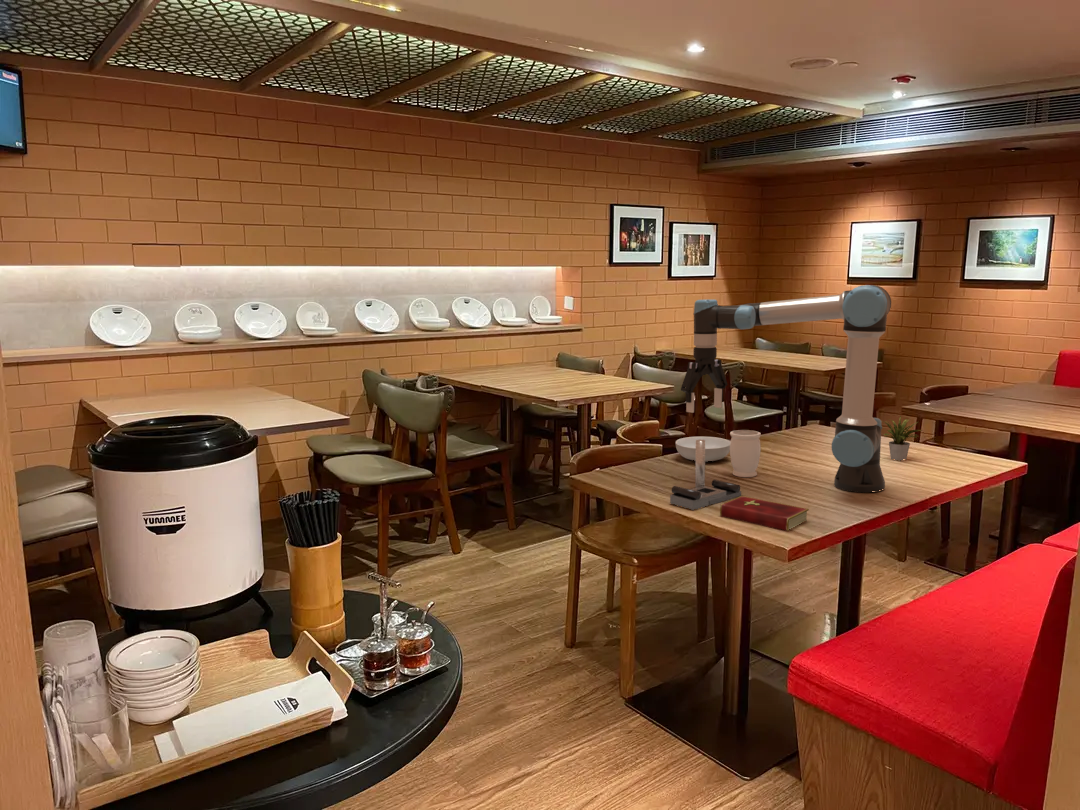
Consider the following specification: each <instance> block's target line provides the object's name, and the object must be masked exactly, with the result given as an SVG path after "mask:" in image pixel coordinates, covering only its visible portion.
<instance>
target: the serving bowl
mask: <svg viewBox="0 0 1080 810" xmlns="http://www.w3.org/2000/svg"><path fill="white" fill-rule="evenodd" d="M696 440H705V463H709V462H708V461H712V462H714V461H718V460H722V459H724V458H725V457H727V456H728V455H729V454H730V442H731V440H730V439H725V438H721V437H715V436H689V437H683V438H682V437H681V438H679V439H677V440H675V448H676V450H677V452H678V454H679V455H680V456H681V457H683V458H685V459H687V460H690V461H693V460H694V461H693V462H696Z"/></svg>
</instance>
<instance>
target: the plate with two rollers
mask: <svg viewBox="0 0 1080 810" xmlns="http://www.w3.org/2000/svg"><path fill="white" fill-rule="evenodd" d="M740 496H742V491H741V485H740V484H736V483H732V482H728V481H722V480H719V479H713V480H712V481H711V486H708V485H705V486H700V487H696V488H695V487H694V488H690V489H689V488H684V487H682V486H677V485H673V486H672V487H671V494H670V496H669V499H670V500H669V501H670V502H669V503H671V504H675V505H678V506H677V507H679V506H682V507H685V508H684V509H686V508H689V509H691V510H690V511H695V510H694V509H697V510H699V509H698V508H700V509H702V508H701V507H703V508H705V506H706V507H709V506H708V505H710V506H712V505H711V504H713V505H715V503H716V504H719V503H723V502H727V501H730V500H733V499H735V498H738V497H740ZM722 501H723V502H722ZM671 504H670V505H671ZM675 505H674V506H675ZM682 507H681V508H682ZM689 509H688V510H689Z"/></svg>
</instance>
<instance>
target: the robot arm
mask: <svg viewBox="0 0 1080 810" xmlns="http://www.w3.org/2000/svg"><path fill="white" fill-rule="evenodd" d="M693 305H694V307H693V346H694V347H693V356H692V357H693V359H694V360H695V362H691V361H688V363H687V369H686V373H685V374H684V378H683V381H682V384H681V387H680V391H681V392H683V393H685V404H686V406H685V407H686V410H685V412H686V413H692V414H693V413H695V392H694V390H695V388H696V386H697V384H698V382H700V379H701V378H702V377H703V376H706V375H708V376H709V377H710V379H711V381H712V382H713V384H714V386H715V387H714V392H713V393H714V394H713V395H714V396H713V399H714V400H713V407H714V408H717V409H722V407H723V394H724V393H723V391H724V390H723V389H726V387H727V386H728V381H727V378H726V375H725V372H724V368H723V367H722V365H723V364H722V359H717V357H718V356H717V353H718V351H717V350H718V348H717V347H716V346H717V345H718V329H719V330H721V329H723V330H724V329H726V330H728V329H729V330H750V329H753V328H754V327H756V326H767V325H768V326H769V325H780V324H791V323H802V322H803V323H804V322H815V321H826V320H839V319H841V320H843V332H844V333H845V334H846V335H847V349H846V357H845V358H846V359H845V370H844V371H845V373H844V385H843V395H842V396H843V397H842V408H841V415H840V416H838V417H837V418H836V420H835V426H834V427H835V428H834V429H835V431H834V437H833V439H832V441H831V452H832V455H833V457H834V458H835V459H836V460H837V462H839V463H840V464H839V467H838V469H837V470H836V474H835V477H834V482H833V486H834V485H835V486H834V487H836V488H837V489H839V488H840V489H839V490H842V489H843V491H846V490H848V491H847V492H851V491H856V492H855V493H861V492H872V491H879V490H882V489H884V488H885V489H886V480H885V477H884V474H883V471H882V468H881V443H882V429H883V426H882V422H881V421H882V420H881V419H880V418H878V417H873V413H874V404H875V400H874V399H875V391H876V390H875V389H876V380H877V367H878V357H879V348H880V347H879V345H880V337H882V336H883V335H884V334H886V332H887V331H886V330H887V328H886V327H887V319H888V314H889V312H890V311H891V308H892V298H891V296H890V294H889V292H888V291H887V290H886V289H885V288H883V287H881V286H879V285H875V284H865V285H858V286H855V287H854V288H852V289H851V290H849V289H848V290H844V291H842V293H840V294H832V295H824V296H813V297H804V298H794V299H793V298H792V299H784V300H773V301H765V302H755V303H754V302H753V303H750V302H749V303H744V304H737V305H736V304H735V305H719V304H718V300H717V299H697V300H695V302H694V304H693ZM885 489H884V490H885Z"/></svg>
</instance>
